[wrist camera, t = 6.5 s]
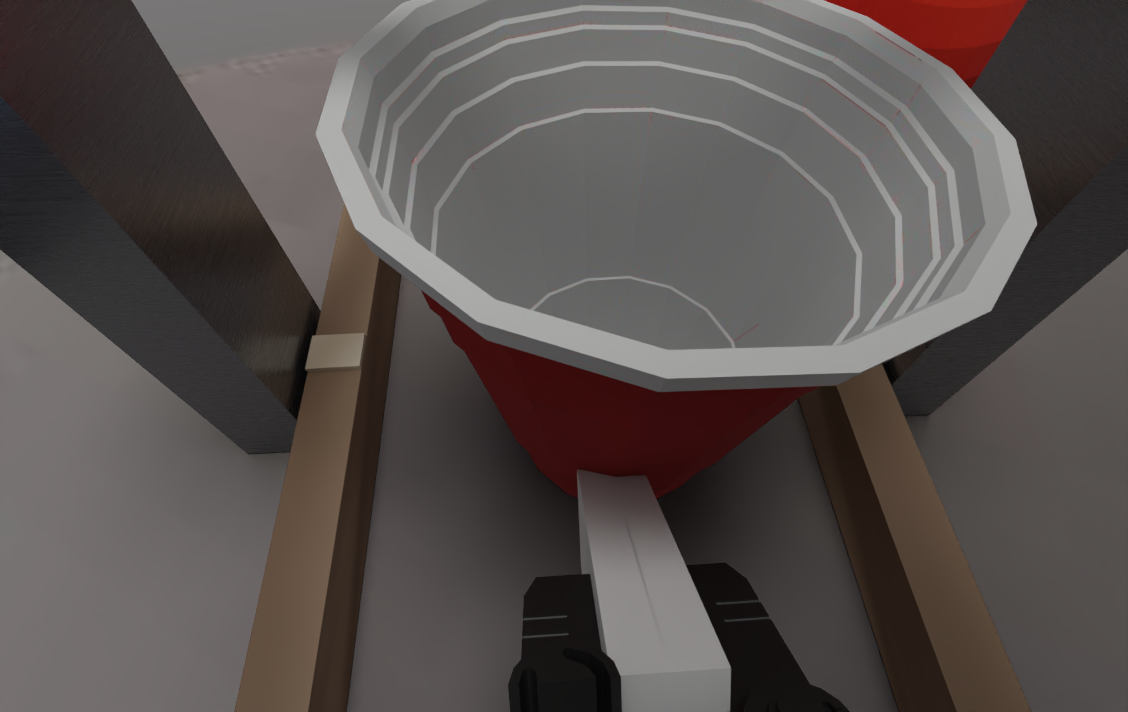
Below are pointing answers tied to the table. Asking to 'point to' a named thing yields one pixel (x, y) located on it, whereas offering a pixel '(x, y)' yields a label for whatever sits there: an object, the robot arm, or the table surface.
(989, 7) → the tomato
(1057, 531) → the table surface
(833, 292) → the plastic cup
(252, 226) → the grey and wooden frame
